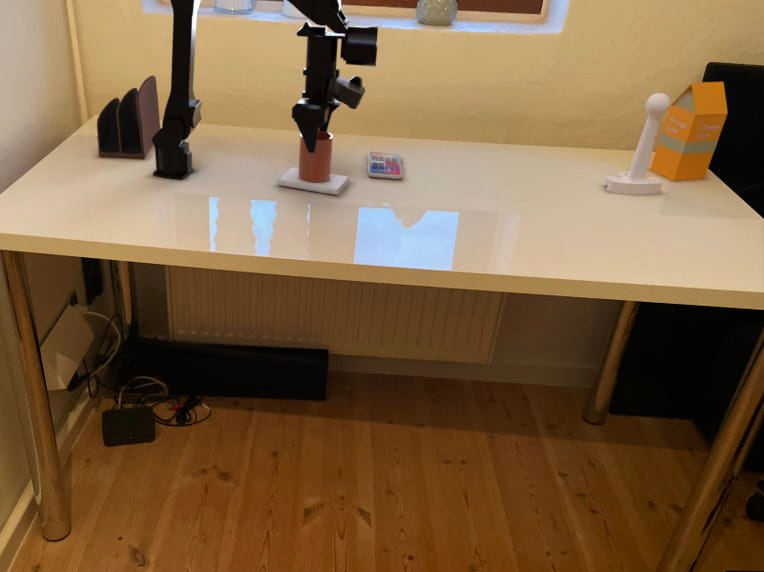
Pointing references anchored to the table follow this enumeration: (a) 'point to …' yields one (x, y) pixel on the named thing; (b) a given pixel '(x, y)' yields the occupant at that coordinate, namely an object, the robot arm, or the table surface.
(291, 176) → the hard drive
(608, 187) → the joystick
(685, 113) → the orange juice
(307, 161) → the cup
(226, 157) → the table surface
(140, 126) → the letter holder
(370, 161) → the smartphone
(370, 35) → the robot arm
